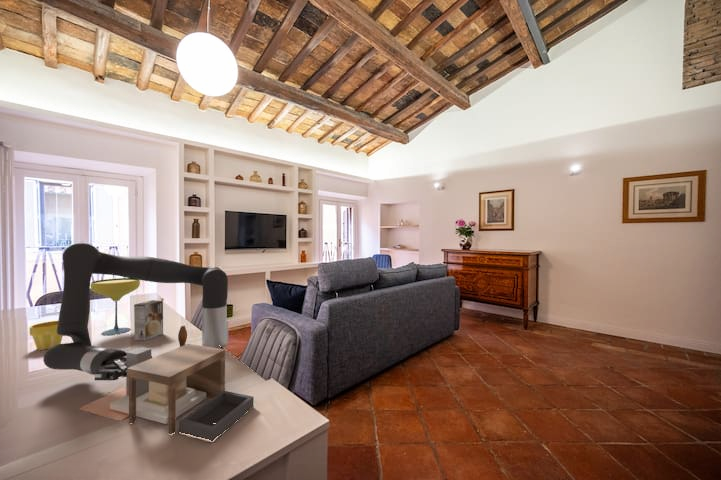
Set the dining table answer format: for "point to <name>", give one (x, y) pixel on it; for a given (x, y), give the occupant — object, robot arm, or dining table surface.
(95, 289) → the cocktail glass
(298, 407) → the dining table surface
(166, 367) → the small wooden table
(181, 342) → the hand bell
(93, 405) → the pad
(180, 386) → the birch block
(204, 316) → the robot arm
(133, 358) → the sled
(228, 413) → the pit trap
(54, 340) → the plant pot
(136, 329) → the coffee box
